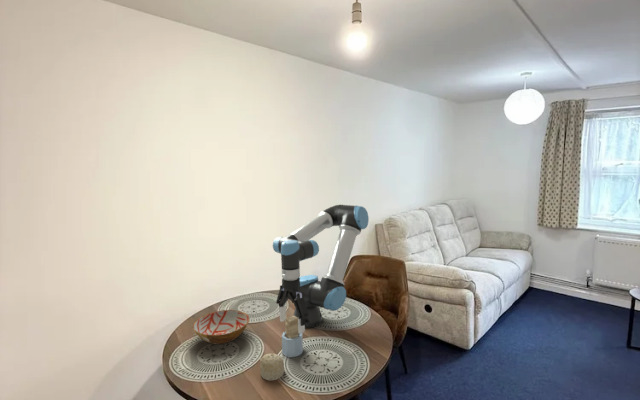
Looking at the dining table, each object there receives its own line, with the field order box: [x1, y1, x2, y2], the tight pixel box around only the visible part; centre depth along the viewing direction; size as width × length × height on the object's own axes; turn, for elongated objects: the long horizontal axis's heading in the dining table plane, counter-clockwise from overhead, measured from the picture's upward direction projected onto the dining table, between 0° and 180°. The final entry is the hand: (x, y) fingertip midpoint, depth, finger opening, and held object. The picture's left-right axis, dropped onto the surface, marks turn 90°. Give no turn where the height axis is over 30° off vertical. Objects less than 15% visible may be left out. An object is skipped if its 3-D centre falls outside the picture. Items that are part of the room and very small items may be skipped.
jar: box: [281, 330, 304, 358], centre depth 140 cm, size 9×9×8 cm
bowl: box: [192, 309, 250, 345], centre depth 152 cm, size 25×25×8 cm
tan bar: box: [284, 315, 298, 339], centre depth 140 cm, size 3×4×14 cm, turn 130°
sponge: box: [259, 353, 285, 382], centre depth 126 cm, size 9×10×10 cm
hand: (292, 326), depth 139 cm, fingers open, 13 cm apart
